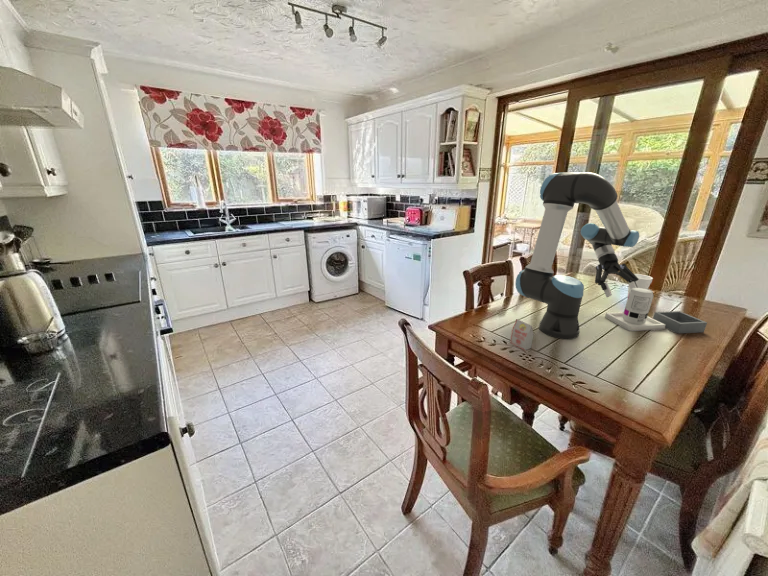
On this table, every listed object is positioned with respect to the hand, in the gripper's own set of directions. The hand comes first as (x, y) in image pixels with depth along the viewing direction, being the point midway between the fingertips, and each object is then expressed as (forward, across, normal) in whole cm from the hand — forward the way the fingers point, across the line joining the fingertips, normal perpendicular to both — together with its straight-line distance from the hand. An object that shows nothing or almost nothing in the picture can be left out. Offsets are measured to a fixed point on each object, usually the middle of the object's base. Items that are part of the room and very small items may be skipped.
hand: (623, 295), depth 146 cm
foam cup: (-5, -24, -19) cm, 31 cm away
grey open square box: (+17, -16, +3) cm, 23 cm away
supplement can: (+13, 0, 0) cm, 13 cm away
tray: (+13, 0, -1) cm, 13 cm away
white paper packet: (+24, +60, +10) cm, 65 cm away
